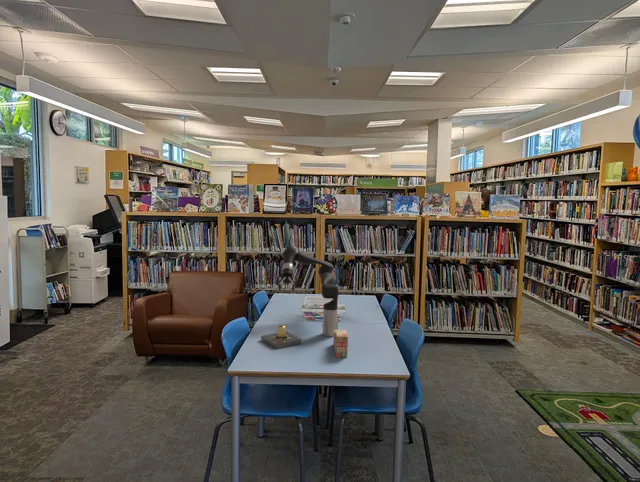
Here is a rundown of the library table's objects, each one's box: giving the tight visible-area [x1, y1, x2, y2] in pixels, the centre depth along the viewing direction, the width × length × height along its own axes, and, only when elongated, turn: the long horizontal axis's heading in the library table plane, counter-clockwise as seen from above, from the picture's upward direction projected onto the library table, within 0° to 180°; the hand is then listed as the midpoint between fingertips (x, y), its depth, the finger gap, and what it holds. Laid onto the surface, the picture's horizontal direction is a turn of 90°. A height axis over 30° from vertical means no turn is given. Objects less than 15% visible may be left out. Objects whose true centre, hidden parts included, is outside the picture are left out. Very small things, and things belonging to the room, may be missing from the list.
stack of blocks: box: [332, 329, 349, 358], centre depth 238 cm, size 21×6×12 cm, turn 3°
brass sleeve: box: [276, 324, 286, 339], centre depth 250 cm, size 5×5×10 cm
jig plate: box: [260, 331, 303, 350], centre depth 250 cm, size 18×18×3 cm
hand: (286, 290), depth 275 cm, fingers open, 8 cm apart
